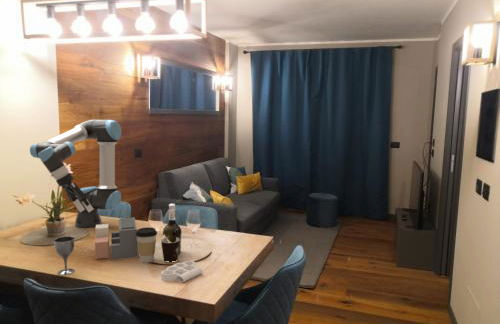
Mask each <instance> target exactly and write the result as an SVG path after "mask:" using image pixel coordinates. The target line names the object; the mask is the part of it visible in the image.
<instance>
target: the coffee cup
mask: <svg viewBox="0 0 500 324" xmlns="http://www.w3.org/2000/svg"><path fill="white" fill-rule="evenodd" d="M157 235H158V232H157V230H156V228H155V227H148V226H147V227H141V228H138V229H137V232H136V236H137V251H138V254H139V255H138V256H139V262H140V263H142V264H148V263H149V262H150V263H152V262H151V261H153V260H154V261H155V253H156V243H157ZM154 261H153V262H154Z"/></svg>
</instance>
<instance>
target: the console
mask: <svg viewBox="0 0 500 324" xmlns="http://www.w3.org/2000/svg"><path fill="white" fill-rule="evenodd" d="M118 226H119V229H118V231H111V232H110V233H111V239H110V240H111V243H110V244H111V245H110V250H111V254H110V255H111V260H122V259H132V258H138V256H139V255H138V254H139V251H138V244H137V236H136V232H137V230H138V229H137V228H138V227H137V222H136V218H135V217H133V216H132V217H122V218H118Z"/></svg>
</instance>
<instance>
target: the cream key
mask: <svg viewBox="0 0 500 324" xmlns="http://www.w3.org/2000/svg"><path fill="white" fill-rule="evenodd" d="M94 230H95V238H105V237H108V240H109V241H110V234H109V223H105V224H104V223H103V224H102V223H101V224H100V225H96V226H95V229H94Z"/></svg>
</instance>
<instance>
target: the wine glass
mask: <svg viewBox="0 0 500 324" xmlns="http://www.w3.org/2000/svg"><path fill="white" fill-rule="evenodd" d="M53 241H54V242H53V243H54V244H53V245H54V250H55V253H57V255H58V256H60V257H61V259H62V260H63V262H64V263H63V264H64V268H63V269H60V270H58V271H57V272H56V275H58V276H67V275H71V274H73V273H75V271H76V270H75V269H74V268H68V266H67V265H68V264H67V263H68V259H69V256H70V255H71V254H72V253H73V251H74V250H75V249H74V247H75V237H74V236H72V235H69V236H68V235H66V236H65V235H64V236H59V237H56V238H54V240H53Z"/></svg>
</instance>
